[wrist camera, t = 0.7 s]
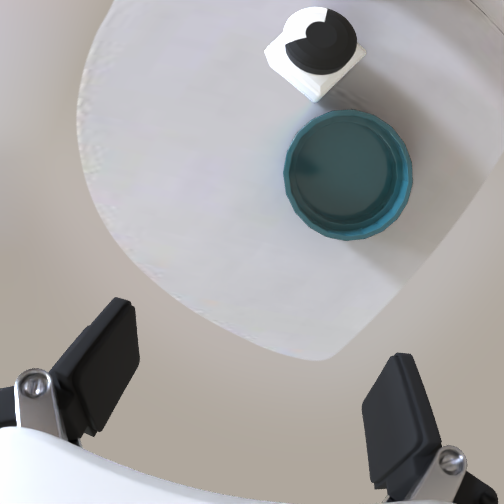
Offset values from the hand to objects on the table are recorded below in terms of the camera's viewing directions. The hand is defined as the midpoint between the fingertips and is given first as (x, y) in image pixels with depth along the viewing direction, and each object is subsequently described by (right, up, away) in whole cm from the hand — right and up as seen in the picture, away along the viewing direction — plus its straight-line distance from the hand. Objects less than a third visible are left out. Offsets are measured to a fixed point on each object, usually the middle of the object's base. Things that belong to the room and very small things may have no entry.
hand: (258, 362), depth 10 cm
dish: (+11, +13, +24) cm, 29 cm away
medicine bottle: (+7, +25, +20) cm, 33 cm away
